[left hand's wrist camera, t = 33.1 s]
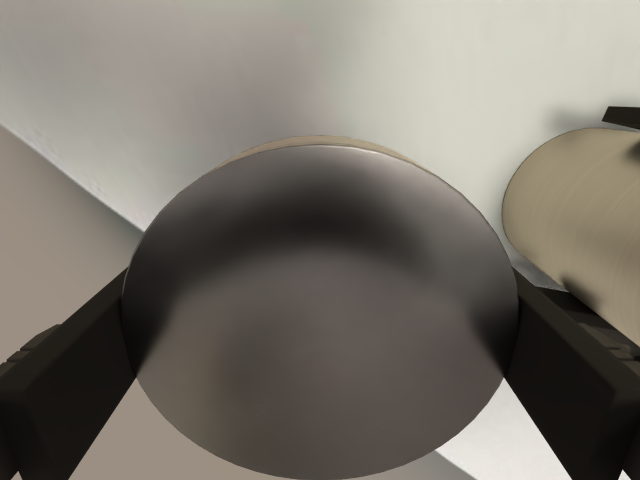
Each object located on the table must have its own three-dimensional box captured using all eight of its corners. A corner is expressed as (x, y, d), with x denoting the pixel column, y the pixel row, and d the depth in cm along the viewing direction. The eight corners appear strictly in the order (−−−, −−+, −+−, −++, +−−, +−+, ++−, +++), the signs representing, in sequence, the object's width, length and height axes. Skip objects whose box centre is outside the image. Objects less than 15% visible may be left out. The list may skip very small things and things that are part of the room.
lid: (513, 373, 13) (550, 425, 11) (247, 453, 15) (234, 513, 13) (431, 69, 10) (464, 61, 8) (89, 218, 11) (32, 246, 9)
